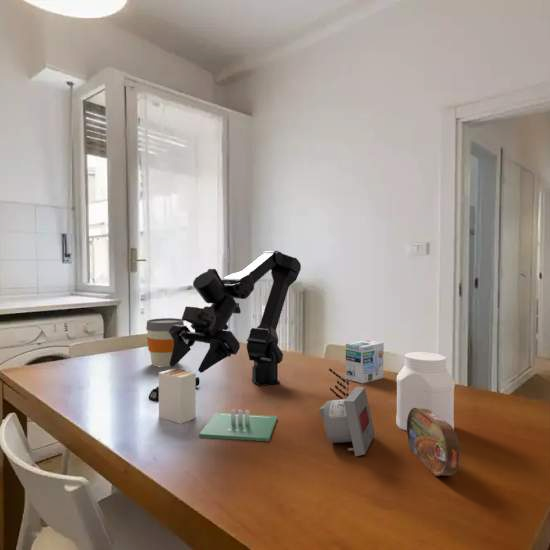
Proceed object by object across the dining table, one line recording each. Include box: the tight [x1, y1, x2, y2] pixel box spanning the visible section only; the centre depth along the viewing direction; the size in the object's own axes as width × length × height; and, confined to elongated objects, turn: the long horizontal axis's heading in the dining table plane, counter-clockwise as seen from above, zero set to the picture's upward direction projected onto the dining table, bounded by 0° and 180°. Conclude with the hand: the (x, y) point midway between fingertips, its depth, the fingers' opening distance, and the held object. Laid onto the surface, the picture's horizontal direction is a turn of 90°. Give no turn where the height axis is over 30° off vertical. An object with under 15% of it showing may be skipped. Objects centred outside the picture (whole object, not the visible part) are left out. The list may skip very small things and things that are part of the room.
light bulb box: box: [345, 339, 385, 384], centre depth 125 cm, size 11×7×11 cm, turn 131°
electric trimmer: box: [148, 376, 201, 402], centre depth 111 cm, size 4×16×3 cm, turn 143°
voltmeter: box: [318, 367, 375, 457], centre depth 87 cm, size 26×11×10 cm, turn 12°
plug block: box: [158, 368, 197, 425], centre depth 93 cm, size 4×7×10 cm, turn 56°
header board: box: [198, 408, 278, 442], centre depth 87 cm, size 12×14×4 cm
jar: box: [395, 351, 456, 431], centre depth 88 cm, size 12×10×15 cm
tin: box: [406, 408, 461, 477], centre depth 72 cm, size 15×3×8 cm, turn 5°
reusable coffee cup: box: [145, 317, 185, 367], centre depth 142 cm, size 13×13×15 cm
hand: (184, 368), depth 94 cm, fingers open, 9 cm apart
